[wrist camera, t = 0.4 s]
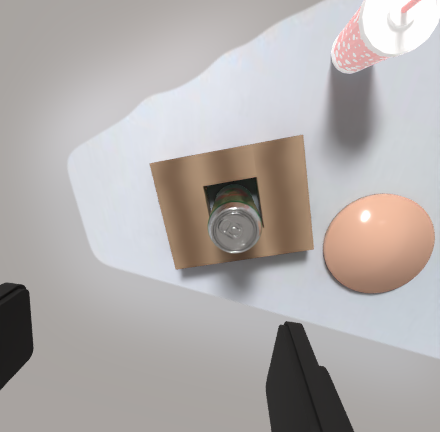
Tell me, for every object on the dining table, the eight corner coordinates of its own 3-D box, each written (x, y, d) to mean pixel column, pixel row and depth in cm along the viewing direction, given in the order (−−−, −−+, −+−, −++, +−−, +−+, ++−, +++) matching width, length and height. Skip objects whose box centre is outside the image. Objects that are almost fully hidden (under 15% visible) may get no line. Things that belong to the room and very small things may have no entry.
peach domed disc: (431, 185, 32) (436, 186, 32) (428, 282, 36) (433, 285, 35) (319, 203, 34) (321, 204, 33) (326, 296, 37) (328, 299, 36)
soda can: (241, 226, 35) (245, 266, 24) (208, 210, 35) (196, 242, 23) (259, 194, 34) (274, 220, 22) (226, 176, 33) (222, 193, 22)
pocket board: (296, 135, 32) (303, 134, 29) (307, 240, 35) (313, 249, 32) (156, 162, 33) (149, 163, 30) (180, 259, 37) (175, 269, 34)
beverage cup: (368, 7, 28) (495, -122, 14) (387, 62, 29) (521, -9, 16) (315, 39, 29) (388, -54, 15) (336, 91, 30) (420, 47, 17)
